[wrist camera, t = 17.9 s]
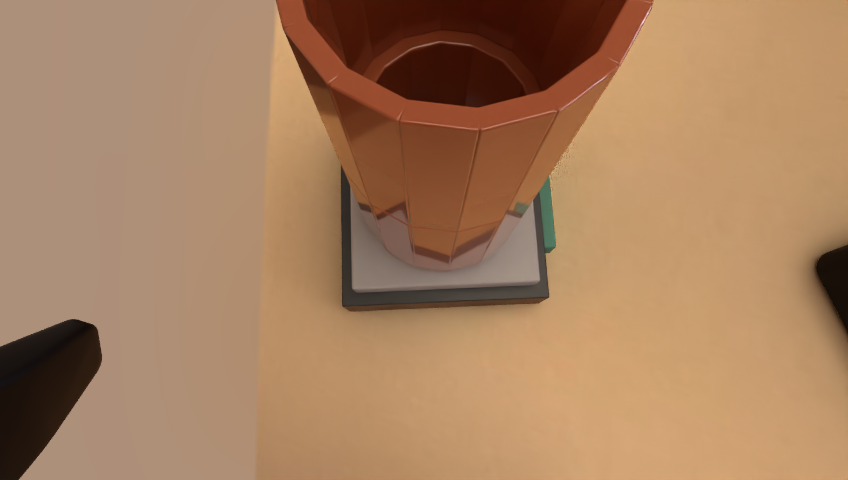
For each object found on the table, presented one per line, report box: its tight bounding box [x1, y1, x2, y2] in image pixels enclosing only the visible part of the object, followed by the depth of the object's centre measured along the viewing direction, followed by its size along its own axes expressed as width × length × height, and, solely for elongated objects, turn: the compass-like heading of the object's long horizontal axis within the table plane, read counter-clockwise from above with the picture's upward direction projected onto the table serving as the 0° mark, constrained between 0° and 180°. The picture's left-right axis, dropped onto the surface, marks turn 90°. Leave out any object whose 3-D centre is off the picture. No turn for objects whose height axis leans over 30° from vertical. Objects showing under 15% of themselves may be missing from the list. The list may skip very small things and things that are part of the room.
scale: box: [341, 165, 556, 311], centre depth 23 cm, size 8×8×3 cm
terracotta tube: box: [276, 0, 653, 271], centre depth 15 cm, size 6×6×13 cm
